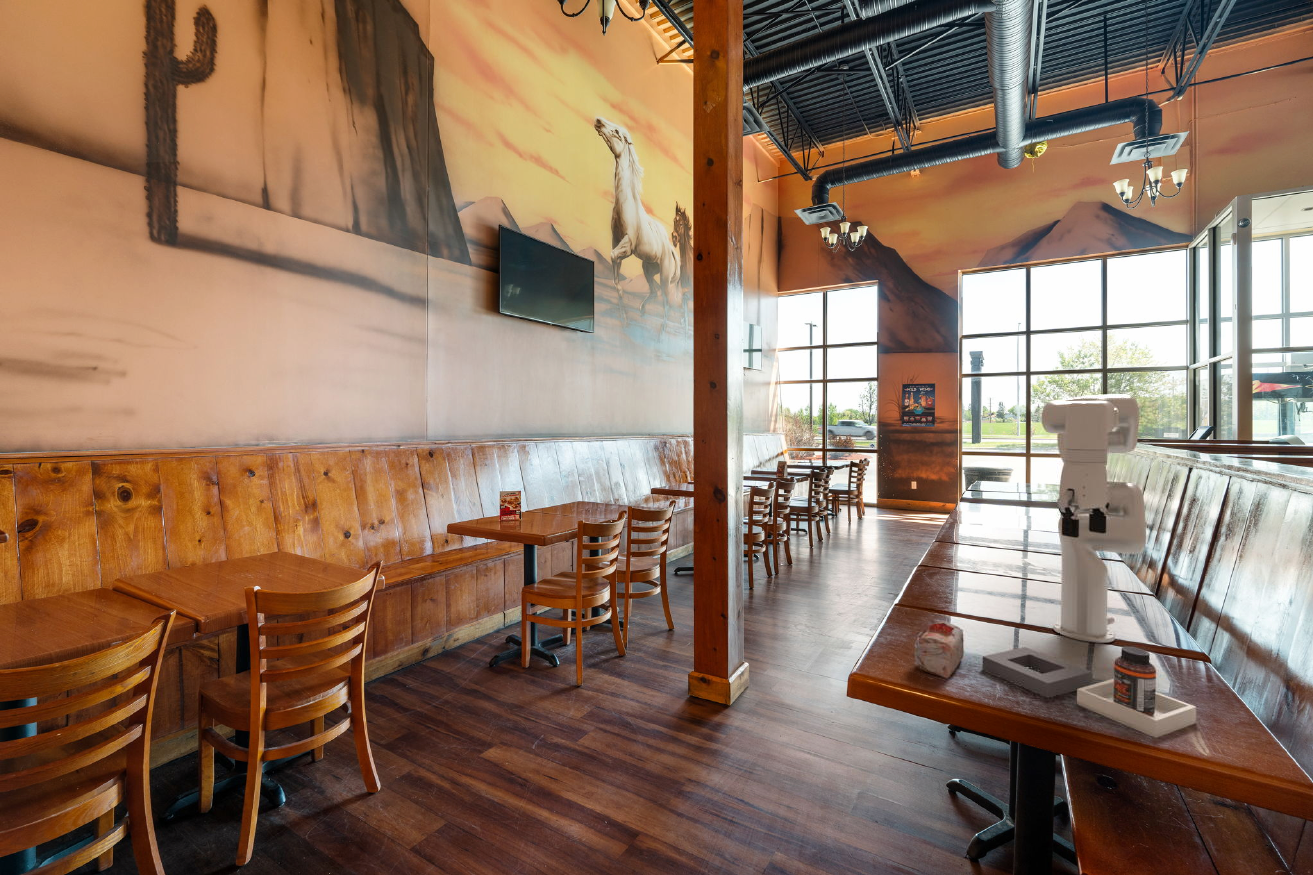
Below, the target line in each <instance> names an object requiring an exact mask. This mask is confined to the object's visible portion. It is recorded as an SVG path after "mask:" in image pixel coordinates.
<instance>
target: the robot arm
mask: <svg viewBox="0 0 1313 875" xmlns="http://www.w3.org/2000/svg"><path fill="white" fill-rule="evenodd" d="M1041 424H1042V427H1043V429H1044V431H1046V433H1048V434H1056V437H1057V438H1056V442H1057V448H1058V452H1059V457H1060V458H1061V459H1060V460H1062V463H1063V465H1062V471H1061V474H1060V481H1059V483H1060V484H1059V490H1058V491H1059V493H1058V498H1057V500H1056V503H1057V505H1058V512H1059V513H1060V517H1059V519H1058V522H1057V523H1058V524H1057V528H1058V535H1059V542H1060V549H1061V550H1060V552H1061V553H1060V554H1061V578H1060V579H1061V582H1060V583H1061V584H1060V586H1061V588H1060V590H1061V592H1060V621H1056V622H1055V623H1053V627H1052V628H1053V630H1054V631H1055V632H1056V633H1058V634H1059V633H1060V635H1062V636H1064V637H1068V638H1070V639H1073V640H1078V641H1083V642H1088V643H1089V642H1090V643H1098V644H1099V643H1100V644H1101V643H1102V644H1104V643H1107V644H1108V643H1111V642H1114V641H1115V634H1114V633H1113V631H1111V630H1110V629H1109V630H1108V626H1109V625H1112V624H1115V622H1116V621H1115V618H1114V617H1113V616H1112V615H1111V616H1110V615H1108V591H1109V590H1108V588H1109V585H1108V584H1109V570H1108V568H1107V565H1106V564H1105V562H1104V561H1103V560H1102V558H1101V557H1099V555H1098V554H1097V553H1096V552H1108V553H1115V554H1117V553H1118V554H1128V555H1137V554H1140V553H1142V552H1143V551H1144V549H1145V547H1146V544H1147V526H1146V525H1147V524H1146V509H1145V499H1144V493H1143V491H1142V490H1141V488H1140V487H1139V486H1138V485H1137V484H1135V483H1131V482H1128V481H1127V482H1125V481H1124V482H1123V481H1112V480H1111V481H1110V480H1108V476H1107V475H1108V474H1107V473H1108V472H1107V465H1108V454H1128V453H1131V452H1132V451H1134V450H1135V449H1136V447H1137V444H1138V437H1139V426H1140V425H1139V424H1140V408H1139V405H1138V402H1137V400H1136V399H1135V398H1134V397H1133V396H1131V395H1130V394H1096V395H1093V394H1092V395H1090V394H1088V395H1082V396H1079V397H1072V398H1067V399H1058V400H1049V401H1047V402H1046V403H1045V404H1044V406H1043V408H1042V412H1041Z"/></svg>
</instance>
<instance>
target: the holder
mask: <svg viewBox="0 0 1313 875" xmlns="http://www.w3.org/2000/svg"><path fill="white" fill-rule="evenodd" d="M1026 667H1032V668H1033V669H1032V668H1026ZM982 669H983V670H982V671H984V670H985V671H984V672H986V671H987V672H986V673H988V672H990V673H989V674H991V675H993V674H994V675H993V676H995V675H996V677H998V676H999V678H1000V677H1001V678H1000V679H1002V678H1003V680H1005V679H1007V680H1008V681H1007V680H1006V681H1007V682H1009V681H1012V682H1013V683H1012V684H1014V683H1016V684H1018V685H1021V686H1023V687H1025V688H1028V689H1029V690H1028V689H1027V690H1028V691H1030V690H1032V691H1034V692H1037V693H1038V695H1039V694H1041V695H1043V696H1042V697H1044V696H1045V697H1044V698H1046V697H1047V698H1046V699H1050V698H1049V697H1051V698H1054V696H1055V697H1057V696H1056V695H1058V696H1061V695H1060V694H1062V695H1064V693H1065V694H1068V693H1067V692H1069V693H1071V692H1075V691H1074V690H1076V691H1077V689H1079V688H1083V687H1086V686H1090V685H1093V671H1092V670H1089V669H1088V668H1087V669H1086V668H1083V667H1081V666H1078V665H1076V664H1073V663H1070V662H1067V661H1065V660H1062V659H1059V658H1056V657H1054V656H1051V655H1048V654H1046V653H1043V652H1041V651H1037V650H1034V649H1032V648H1029V647H1027V646H1024V647H1019V648H1014V649H1009V650H1005V651H1001V652H996V653H992V654H987V655H984V656H982ZM1034 669H1036V670H1034ZM1037 670H1039V671H1040V672H1039V671H1037ZM1042 672H1043V673H1042ZM1016 684H1015V685H1016ZM1018 685H1017V686H1018ZM1021 686H1020V687H1021ZM1023 687H1022V688H1023ZM1025 688H1024V689H1025ZM1032 691H1031V692H1032ZM1034 692H1033V693H1034ZM1037 693H1036V694H1037ZM1041 695H1040V696H1041Z"/></svg>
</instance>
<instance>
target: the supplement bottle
mask: <svg viewBox="0 0 1313 875" xmlns="http://www.w3.org/2000/svg"><path fill="white" fill-rule="evenodd" d="M1120 654H1121V655H1120V656H1118V657H1116V658H1115V659H1114V666H1113V667H1114V668H1113V669H1114V670H1113V676H1114V677H1113V679H1114V695H1113V699H1114V700H1113V701H1114V702H1116V703H1118V704H1121V705H1123V706H1126V707H1128V708H1131V709H1133V710H1136V711H1138V712H1141V713H1143V714H1146V715H1148V716H1153V715H1154V713H1155V692H1157V691H1156V688H1157V687H1156V686H1157V681H1156V680H1157V670H1156V667H1155V666H1154V664H1152V663H1151V662H1150V656H1151V655H1150V653H1149V651H1147V650H1145V649H1141V648H1140V647H1139V648H1138V647H1134V646H1123V647H1121V652H1120Z"/></svg>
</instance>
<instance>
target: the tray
mask: <svg viewBox="0 0 1313 875" xmlns="http://www.w3.org/2000/svg"><path fill="white" fill-rule="evenodd" d="M1113 695H1114V678H1111V679H1108V680H1104V681H1100V682H1098V683H1097V682H1096V683H1094V684H1093V683H1092V685H1090V686H1086V687H1083V688H1079V689H1077V690H1076V705H1077V704H1078V706H1080V707H1082V708H1085V709H1087V710H1090V711H1091V712H1094V713H1096V714H1099V715H1101V716H1104V717H1106V718H1108V719H1110V720H1113V721H1115V722H1118V723H1120V724H1123V725H1124V726H1127V727H1129V728H1132V729H1134V730H1136V731H1138V732H1141V733H1144V734H1146V735H1148V736H1150V737H1152V738H1155V739H1156V738H1160V737H1162V736H1165V735H1167V734H1170V733H1173V732H1176V731H1178V730H1181V729H1183V728H1186V727H1189V726H1190V727H1191V726H1192V725H1195V724H1197V706H1195V705H1192V704H1189V703H1187V702H1184V701H1181V700H1179V699H1176V698H1173V697H1170V696H1168V695H1165V694H1163V693H1159V692H1157V691H1155V713H1154V715H1153V716H1148V715H1146V714H1143V713H1141V712H1138V711H1136V710H1133V709H1131V708H1128V707H1126V706H1123V705H1121V704H1118V703H1116V702H1114V701H1113V700H1114V699H1113Z"/></svg>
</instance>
